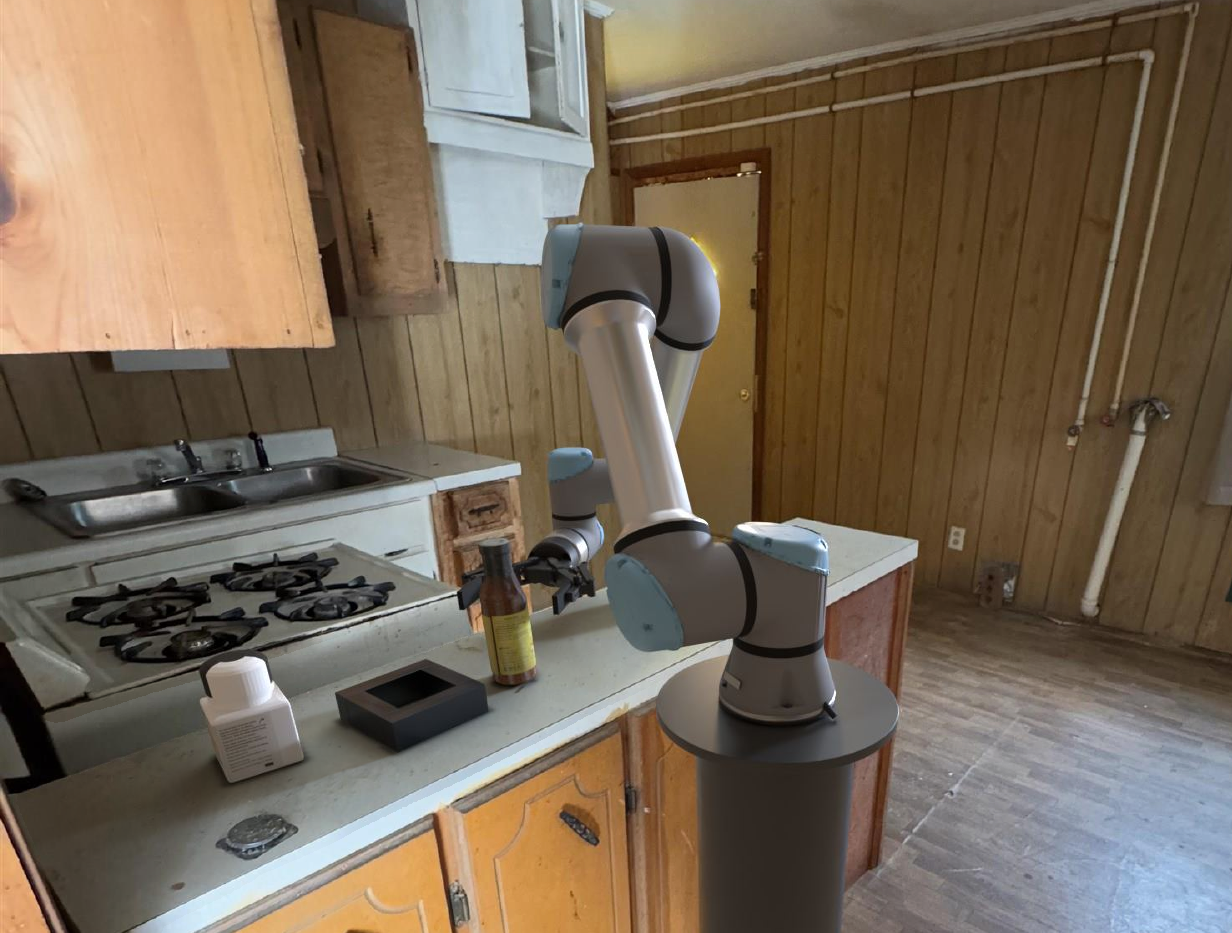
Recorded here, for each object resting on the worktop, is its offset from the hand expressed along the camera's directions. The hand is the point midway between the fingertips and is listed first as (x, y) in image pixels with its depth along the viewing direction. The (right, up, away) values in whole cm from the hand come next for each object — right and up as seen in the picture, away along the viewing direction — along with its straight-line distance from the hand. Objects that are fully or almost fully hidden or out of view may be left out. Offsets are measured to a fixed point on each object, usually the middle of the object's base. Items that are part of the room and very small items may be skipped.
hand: (507, 603), depth 107 cm
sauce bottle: (0, -10, +4) cm, 11 cm away
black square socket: (-10, -15, -7) cm, 19 cm away
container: (-24, -19, -16) cm, 35 cm away
